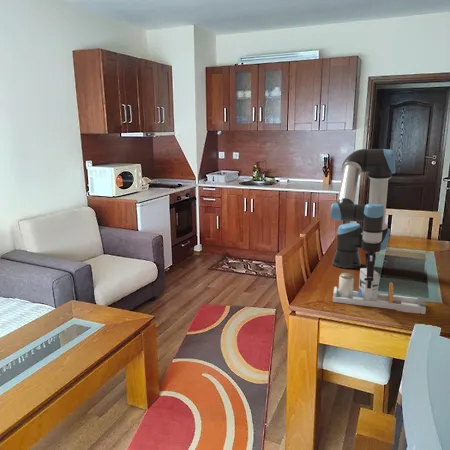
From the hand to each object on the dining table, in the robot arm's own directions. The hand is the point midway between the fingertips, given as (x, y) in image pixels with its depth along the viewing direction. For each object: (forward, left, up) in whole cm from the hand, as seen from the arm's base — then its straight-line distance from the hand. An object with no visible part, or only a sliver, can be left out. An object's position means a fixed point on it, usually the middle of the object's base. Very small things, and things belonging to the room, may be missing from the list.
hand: (367, 289), depth 169 cm
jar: (0, -9, -5) cm, 10 cm away
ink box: (0, 0, -4) cm, 4 cm away
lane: (0, +4, -6) cm, 7 cm away
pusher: (0, +11, -5) cm, 12 cm away
